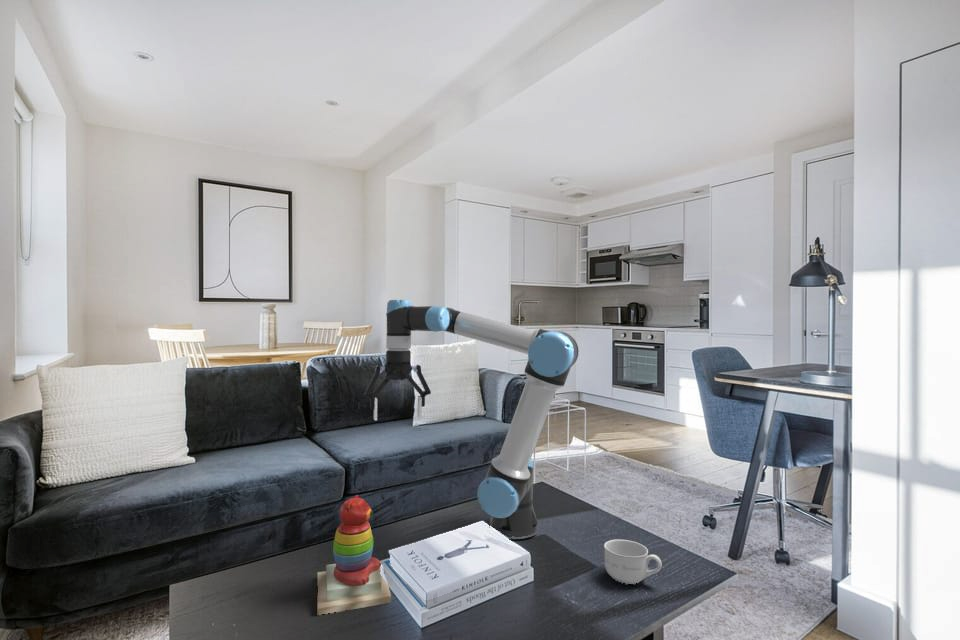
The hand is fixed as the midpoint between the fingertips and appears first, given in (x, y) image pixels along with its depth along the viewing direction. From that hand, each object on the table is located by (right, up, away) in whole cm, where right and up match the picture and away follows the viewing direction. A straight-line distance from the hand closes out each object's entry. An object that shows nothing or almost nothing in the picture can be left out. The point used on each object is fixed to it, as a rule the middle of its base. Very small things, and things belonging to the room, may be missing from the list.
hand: (397, 418), depth 146 cm
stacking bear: (-5, -31, -32) cm, 45 cm away
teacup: (+64, -36, -27) cm, 78 cm away
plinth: (-5, -34, -33) cm, 48 cm away
